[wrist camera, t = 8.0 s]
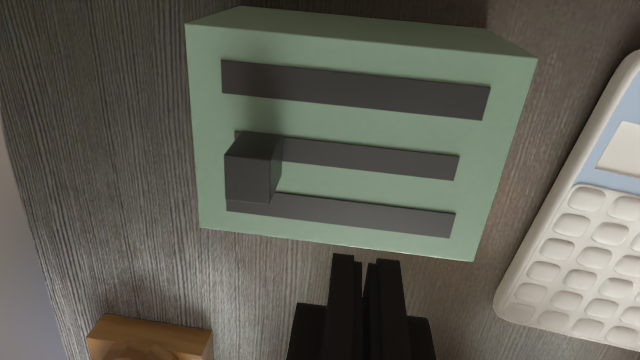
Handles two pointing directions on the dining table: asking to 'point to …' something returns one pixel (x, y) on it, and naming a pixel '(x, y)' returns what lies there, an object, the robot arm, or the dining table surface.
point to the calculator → (587, 232)
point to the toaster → (357, 125)
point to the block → (147, 340)
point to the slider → (253, 167)
